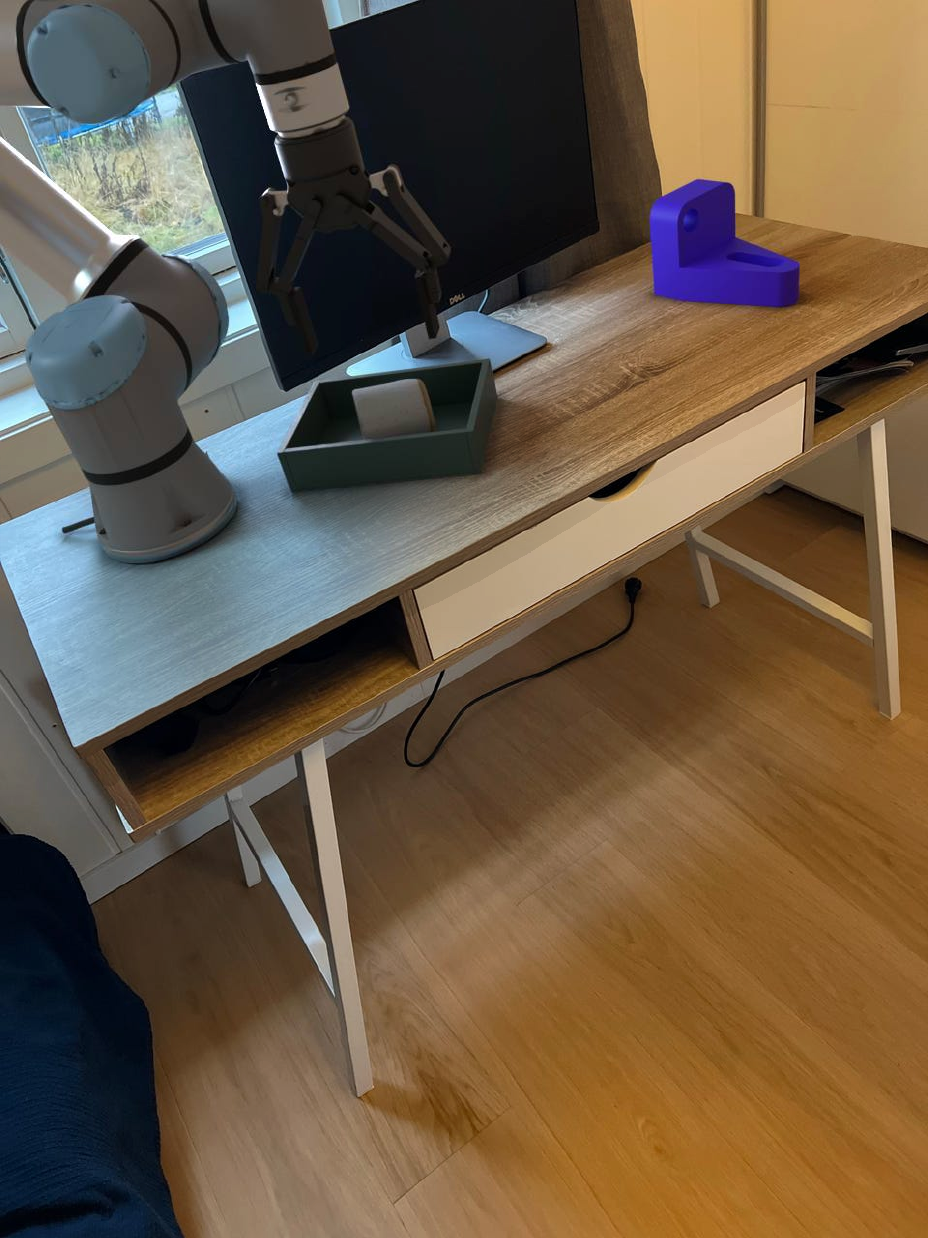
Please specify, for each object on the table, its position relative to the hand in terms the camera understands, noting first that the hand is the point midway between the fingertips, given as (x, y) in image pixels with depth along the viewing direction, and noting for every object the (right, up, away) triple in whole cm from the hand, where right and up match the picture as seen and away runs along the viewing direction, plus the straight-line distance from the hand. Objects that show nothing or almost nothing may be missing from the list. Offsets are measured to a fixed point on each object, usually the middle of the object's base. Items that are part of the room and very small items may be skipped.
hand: (372, 342), depth 98 cm
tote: (+2, -9, +8) cm, 12 cm away
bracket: (+45, +13, +21) cm, 51 cm away
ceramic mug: (+2, -9, +8) cm, 12 cm away
